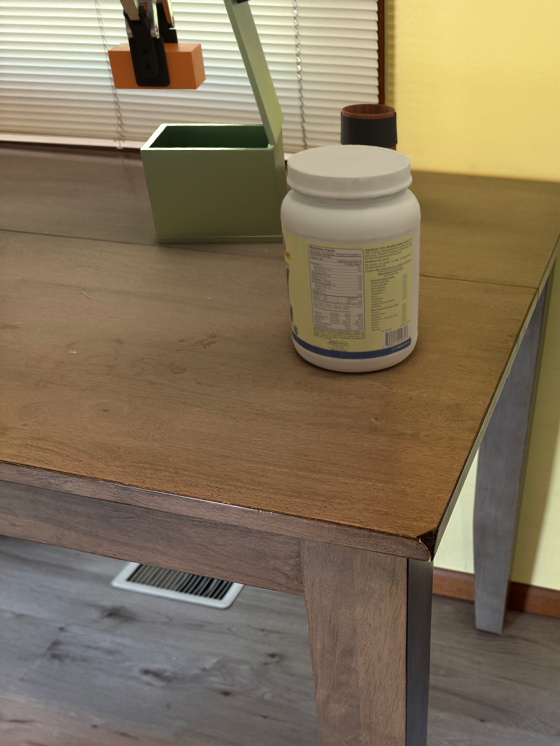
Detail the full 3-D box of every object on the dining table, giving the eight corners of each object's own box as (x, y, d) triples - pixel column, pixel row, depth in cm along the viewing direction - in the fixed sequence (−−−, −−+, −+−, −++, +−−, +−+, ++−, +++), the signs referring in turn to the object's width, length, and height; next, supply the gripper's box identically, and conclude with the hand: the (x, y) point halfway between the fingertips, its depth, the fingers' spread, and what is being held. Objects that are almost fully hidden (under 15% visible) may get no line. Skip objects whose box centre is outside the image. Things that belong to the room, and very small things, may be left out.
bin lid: (215, -22, 78) (264, -38, 78) (231, -31, 89) (274, -45, 88) (269, 146, 89) (313, 133, 88) (278, 120, 99) (317, 109, 99)
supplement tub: (313, 316, 79) (300, 138, 68) (427, 327, 77) (433, 145, 66) (275, 370, 70) (254, 173, 59) (404, 383, 68) (407, 184, 57)
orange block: (114, 88, 74) (107, 50, 72) (128, 79, 78) (121, 42, 76) (196, 89, 75) (191, 51, 72) (205, 79, 79) (201, 43, 77)
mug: (384, 183, 117) (384, 97, 110) (406, 205, 108) (407, 114, 101) (330, 186, 115) (326, 99, 108) (347, 210, 106) (344, 117, 99)
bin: (158, 243, 95) (139, 149, 88) (177, 210, 106) (161, 123, 99) (282, 242, 96) (273, 149, 89) (288, 209, 106) (281, 123, 100)
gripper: (102, -159, 71) (142, 66, 83) (41, -173, 58) (99, 96, 70) (182, -157, 71) (211, 67, 83) (140, -171, 58) (181, 97, 70)
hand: (160, 78), depth 76 cm, fingers closed on orange block, 5 cm apart
